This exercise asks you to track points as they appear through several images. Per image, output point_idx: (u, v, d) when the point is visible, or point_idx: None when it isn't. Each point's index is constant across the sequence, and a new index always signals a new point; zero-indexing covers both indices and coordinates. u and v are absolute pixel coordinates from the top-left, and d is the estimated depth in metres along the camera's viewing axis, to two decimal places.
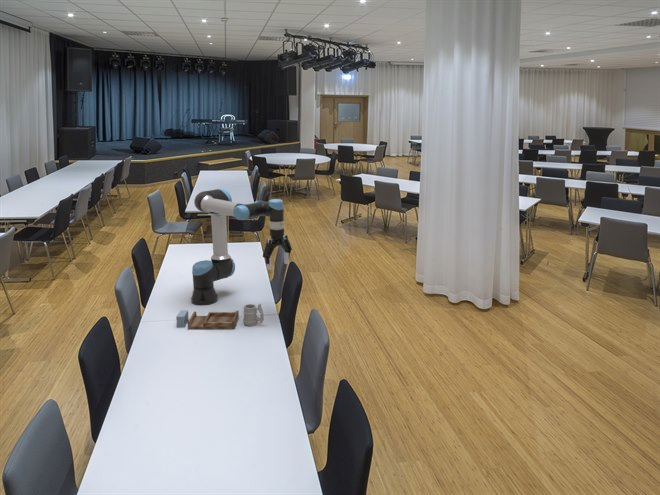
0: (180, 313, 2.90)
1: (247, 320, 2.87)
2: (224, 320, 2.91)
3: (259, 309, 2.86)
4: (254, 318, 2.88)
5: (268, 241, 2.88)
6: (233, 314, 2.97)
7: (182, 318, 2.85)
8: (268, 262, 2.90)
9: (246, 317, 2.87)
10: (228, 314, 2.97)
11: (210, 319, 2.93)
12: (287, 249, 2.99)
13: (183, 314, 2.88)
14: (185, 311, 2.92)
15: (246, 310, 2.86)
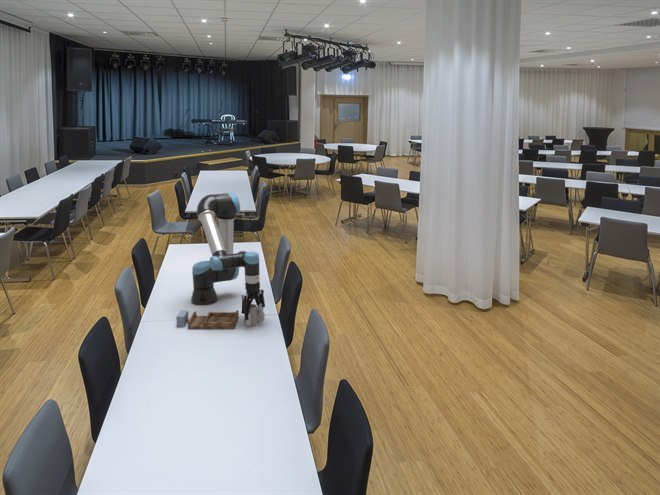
0: (180, 313, 2.90)
1: None
2: (224, 320, 2.91)
3: (260, 309, 2.87)
4: (255, 318, 2.88)
5: (243, 297, 2.81)
6: (233, 314, 2.97)
7: (182, 318, 2.85)
8: (247, 318, 2.85)
9: None
10: (228, 314, 2.97)
11: (210, 319, 2.93)
12: None
13: (183, 314, 2.88)
14: (185, 311, 2.92)
15: None
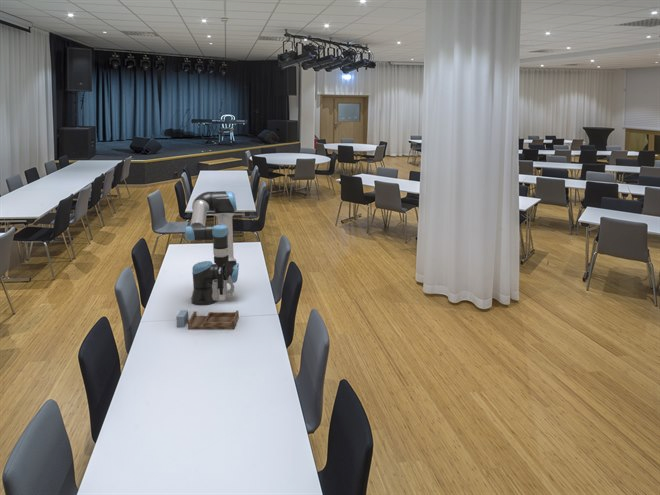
0: (180, 313, 2.90)
1: None
2: (224, 320, 2.91)
3: (230, 281, 2.87)
4: (225, 291, 2.87)
5: (219, 272, 2.77)
6: (233, 314, 2.97)
7: (182, 318, 2.85)
8: (222, 292, 2.82)
9: None
10: (228, 314, 2.97)
11: (210, 319, 2.93)
12: (226, 278, 2.90)
13: (183, 314, 2.88)
14: (185, 311, 2.92)
15: None
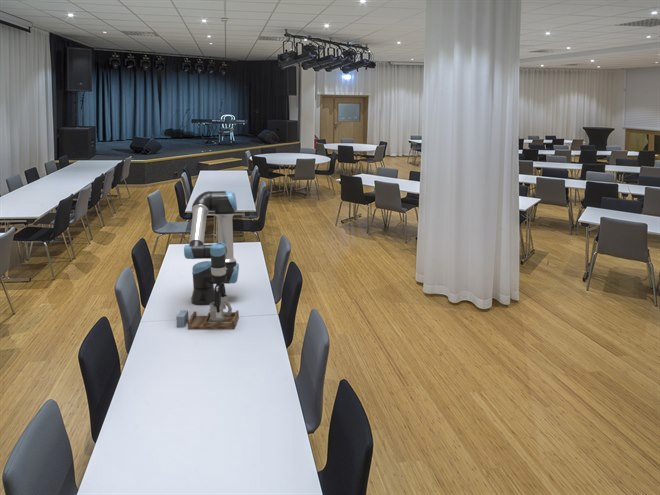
0: (180, 313, 2.90)
1: None
2: (224, 320, 2.91)
3: (227, 303, 2.90)
4: (223, 313, 2.90)
5: (217, 289, 2.79)
6: (233, 314, 2.97)
7: (182, 318, 2.85)
8: (219, 310, 2.81)
9: None
10: None
11: None
12: (224, 293, 2.94)
13: (183, 314, 2.88)
14: (185, 311, 2.92)
15: None
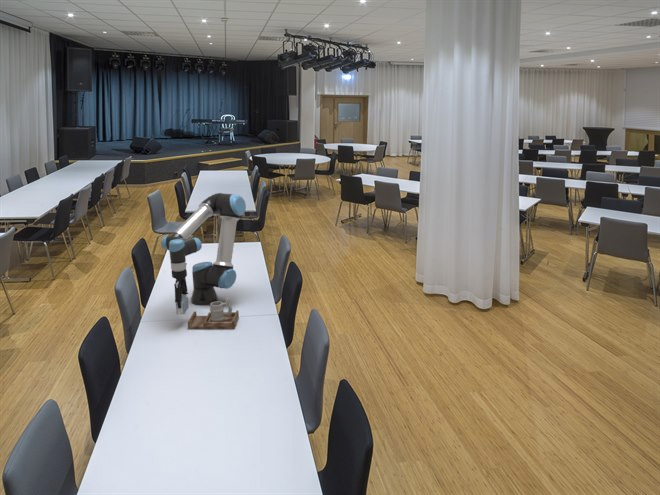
0: None
1: (218, 317, 2.87)
2: (224, 320, 2.91)
3: (228, 303, 2.90)
4: (223, 314, 2.90)
5: (176, 285, 2.78)
6: (233, 314, 2.97)
7: None
8: (180, 306, 2.83)
9: (216, 315, 2.86)
10: None
11: None
12: (185, 291, 2.92)
13: (183, 300, 2.87)
14: (185, 297, 2.91)
15: (216, 307, 2.86)
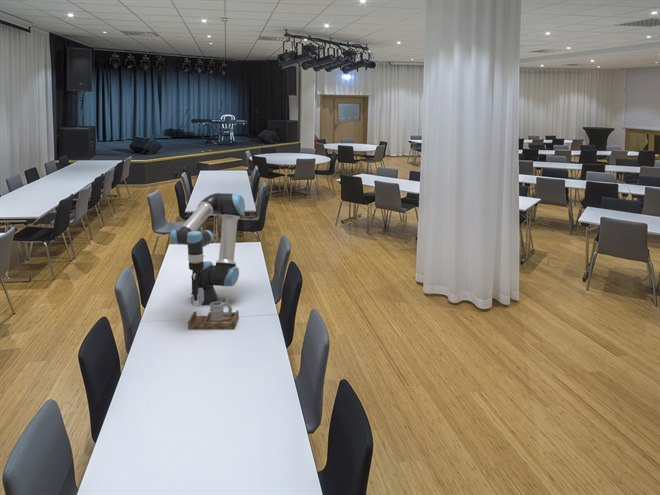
0: None
1: (218, 317, 2.87)
2: (224, 320, 2.91)
3: (228, 303, 2.90)
4: (223, 314, 2.90)
5: (193, 277, 2.77)
6: (233, 314, 2.97)
7: None
8: (197, 298, 2.81)
9: (216, 315, 2.86)
10: None
11: None
12: (201, 283, 2.90)
13: (199, 293, 2.85)
14: (201, 290, 2.89)
15: (216, 307, 2.86)
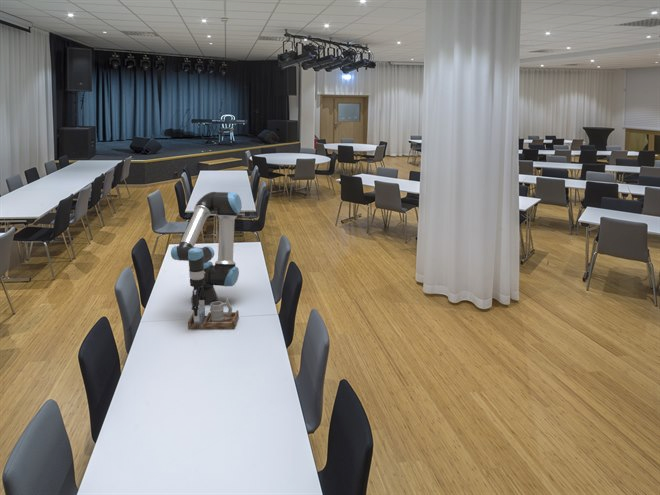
0: None
1: (218, 317, 2.87)
2: (224, 320, 2.91)
3: (228, 303, 2.90)
4: (223, 314, 2.90)
5: (194, 292, 2.79)
6: (233, 314, 2.97)
7: (199, 315, 2.85)
8: (197, 314, 2.81)
9: (216, 315, 2.86)
10: None
11: None
12: (203, 296, 2.94)
13: (200, 311, 2.88)
14: (202, 308, 2.92)
15: (216, 307, 2.86)
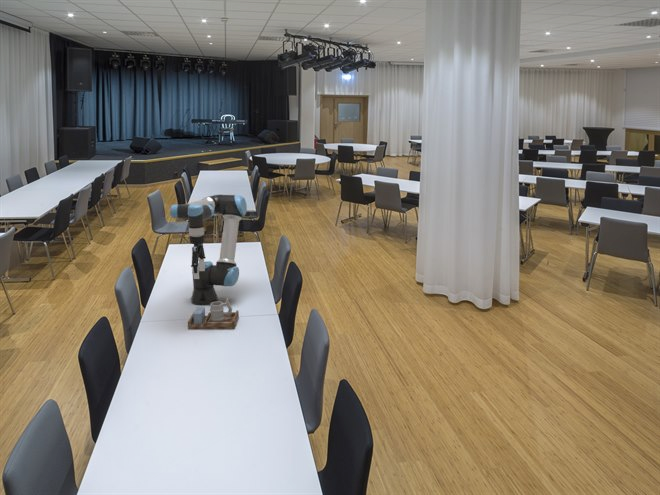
0: (197, 310, 2.90)
1: (218, 317, 2.87)
2: (224, 320, 2.91)
3: (228, 303, 2.90)
4: (223, 314, 2.90)
5: (194, 249, 2.75)
6: (233, 314, 2.97)
7: (199, 315, 2.85)
8: (196, 271, 2.77)
9: (216, 315, 2.86)
10: None
11: None
12: (203, 255, 2.90)
13: (200, 311, 2.88)
14: (202, 308, 2.92)
15: (216, 307, 2.86)
